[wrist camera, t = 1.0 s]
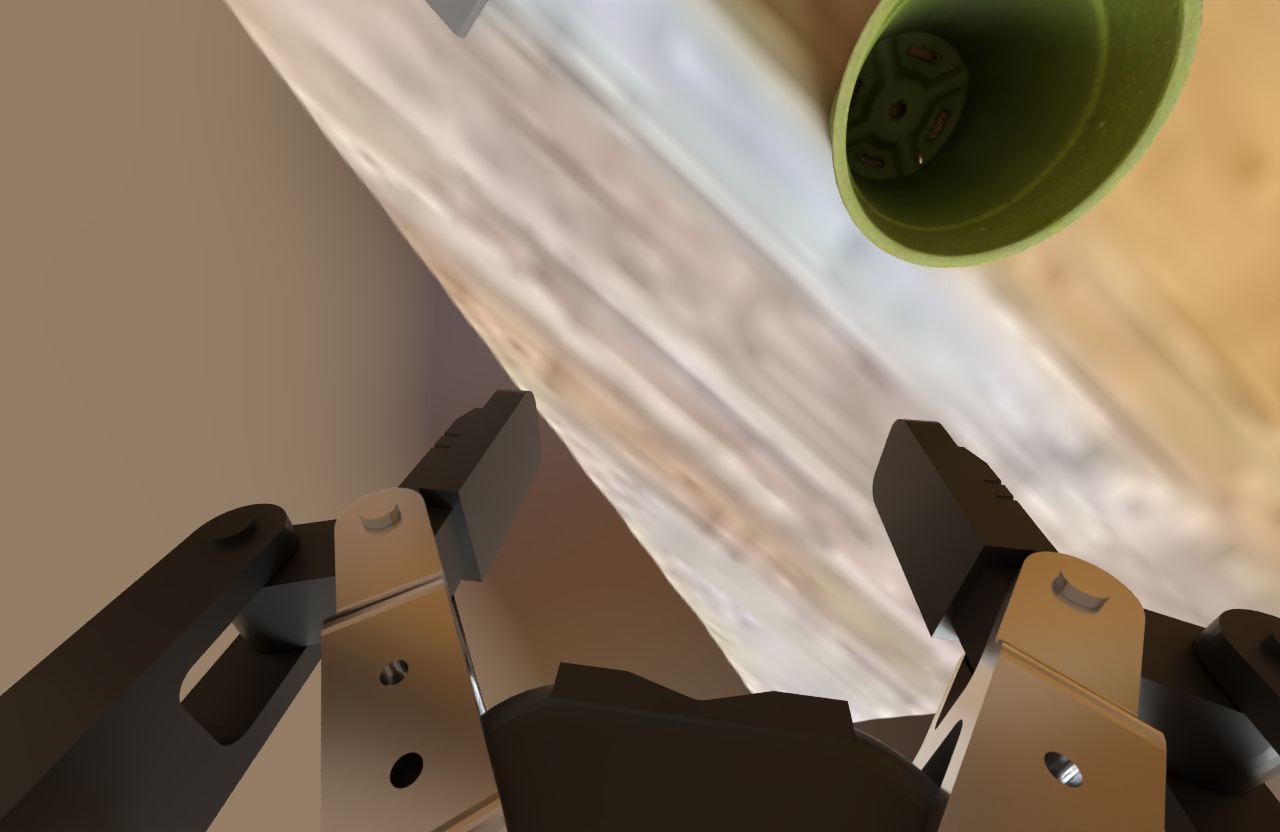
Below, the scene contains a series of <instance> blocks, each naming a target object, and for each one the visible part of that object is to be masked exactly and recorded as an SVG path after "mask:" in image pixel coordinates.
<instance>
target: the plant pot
mask: <svg viewBox="0 0 1280 832" xmlns="http://www.w3.org/2000/svg"><path fill="white" fill-rule="evenodd" d="M1202 10H1203V0H880V2H879V3H878V5H877V6H876V8H875V9H874V11H873V12H872V14H871V16H870V17H869V19H868V21H867V23H866V24H865V26H864V28H863V30H862V32H861V34H860V36H859V38H858V40H857V42H856V44H855V46H854V49H853V51H852V53H851V56H850V58H849V60H848V63H847V66H846V69H845V72H844V75H843V78H842V81H841V82H840V84H839V86H838V89H837V91H836V93H835V96H834V99H833V102H832V106H831V112H830V120H829V134H830V140H831V144H832V161H833V168H834V174H835V179H836V184H837V187H838V190H839V193H840V196H841V199H842V201H843V204H844V206H845V208H846V209H847V211H848V213H849V215H850V217H851V218H852V220H853V222H854V223H855V224H856V226H857V227H858V228H859V229H860V231H861V232H862V233H863V234H864V235H865V236H866V237H867V238H868V239H869V240H870V241H871V242H872V243H874V244H875V245H876V246H877V247H879V248H880V249H882V250H883V251H885V252H887V253H889V254H890V255H892V256H894V257H896V258H898V259H901V260H904V261H907V262H910V263H913V264H917V265H922V266H927V267H939V268H950V267H968V266H975V265H981V264H985V263H989V262H993V261H997V260H1000V259H1003V258H1006V257H1009V256H1012V255H1014V254H1017V253H1020V252H1022V251H1024V250H1026V249H1029V248H1031V247H1033V246H1035V245H1037V244H1039V243H1041V242H1043V241H1044V240H1046V239H1048V238H1050V237H1051V236H1053V235H1055V234H1056V233H1058V232H1060V231H1061V230H1063V229H1065V228H1066V227H1068V226H1069V225H1071V224H1072V223H1073V222H1075V221H1076V220H1078V219H1079V218H1080V217H1082V216H1083V215H1084V214H1086V213H1087V212H1088V211H1089V210H1091V209H1092V208H1093V207H1094V206H1095V205H1096V204H1098V203H1099V202H1100V201H1101V200H1102V199H1103V198H1104V197H1105V196H1107V195H1108V194H1109V193H1110V192H1111V191H1112V190H1113V188H1114V187H1115V186H1116V185H1117V184H1118V183H1119V182H1120V181H1121V180H1122V179H1123V178H1124V177H1125V176H1126V175H1127V174H1128V173H1129V171H1130V170H1131V169H1132V168H1133V167H1134V166H1135V165H1136V163H1137V162H1138V161H1139V160H1140V159H1141V158H1142V156H1143V155H1144V154H1145V152H1146V151H1147V149H1148V148H1149V147H1150V145H1151V144H1152V143H1153V141H1154V140H1155V138H1156V137H1157V135H1158V133H1159V132H1160V130H1161V129H1162V127H1163V126H1164V124H1165V123H1166V121H1167V119H1168V118H1169V116H1170V114H1171V112H1172V110H1173V108H1174V106H1175V104H1176V102H1177V100H1178V98H1179V96H1180V94H1181V92H1182V89H1183V87H1184V85H1185V82H1186V79H1187V76H1188V73H1189V70H1190V67H1191V64H1192V60H1193V58H1194V55H1195V52H1196V48H1197V44H1198V40H1199V36H1200V30H1201V25H1202ZM911 46H919V47H923V48H925V49H930V50H931V51H934V52H936V58H935V59H934V60H933V61H932V62H931V63H929V62H927V61H926V60H924V59H921V58H918V57H915V56H907V53H908V52H909V49H910V47H911ZM870 56H871V57H870ZM871 60H872V64H871ZM952 67H953V68H952ZM950 68H951V69H950ZM856 80H860V81H861V87H860V89H859V91H858V92H857V95H856V96H855V98H854V101H853V103H852V104H851V110H850V113H849V106H850V102H851V97H852V94H853V90H854V87H855V83H856ZM897 103H903V104H904V105H905V111H904V114H903V115H902V116H901V117H899V118H897V119H895V118H893V117H892V114H891V110H892V108H893V106H894V105H896V104H897ZM943 110H946V111H947V112H948V117H947V120H946V122H945V124H944V126H943V128H942V130H941V131H940V133H939V134H938V135H937V137H936V138H935V139H934V140H932V141H931V140H929V134H930V132H931V130H932V129H933V127H934V126H935V124H936V122H937V120H938V117H939V115H940V114H941V112H942V111H943ZM848 114H849V116H848ZM917 148H918V149H919V152H920V154H921V157H922V163H921V164H920V163H919V156H918V152H917ZM862 155H866V156H868V157H871V158H873V159H878V160H883V161H884V163H883V166H884V167H881V166H878V165H876V166H873V165H869V164H866V163H865V162H862V161H861V156H862Z"/></svg>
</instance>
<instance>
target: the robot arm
mask: <svg viewBox="0 0 1280 832" xmlns="http://www.w3.org/2000/svg"><path fill="white" fill-rule="evenodd" d="M540 460H541V441H540V434H539V426H538V418H537V410H536V402H535V398H534V395H533V393H532V392H531V391H521V390H507V389H498V390H497V391H496V392H495V393H494V394H493V396H492V397H491V398H490V399H489V401H488V402H487V403H486V405H485V406H484V407H483V408H482V409H481V408H475V409H473V410H471V411H470V412H468V413H466V414H465V415H463V416H461V417H459V418H458V419H456V420H455V422H454V423H453V424H452V425H451V426H450V427H449V429H448V430H447V431H446V432H445V434H444V436H442V437H441V438H440V439H439V440H438V441H437V443H436V444H435V447H434V448H431V449H430V451H429V452H428V453H427V454H426V455H425V456H424V458H423V459H422V460H421V461H420V462H419V463H418V464H417V466H416V467H415V468H414V469H413V470H412V472H411V473H410V474H409V475H408V476H407V477H406V478H405V480H404V481H403V482H402V483H401V484H400V486H399V487H398V488H389V489H383V490H379V491H376V492H373V493H370V494H368V495H366V496H363V497H361V498H360V499H358V500H356V501H355V502H353V503H352V504H350V505H349V506H348V507H347V508H346V509H345V510H344V511H343V512H342V513H341V514H340V515H339V517H338V519H335V520H328V521H321V522H313V523H307V524H299V525H292V524H291V521H290V520H289V518H288V516H287V514H286V512H285V511H284V510H283V509H282V508H281V507H279V506H277V505H273V504H254V505H248V506H244V507H240V508H237V509H234V510H231V511H228V512H226V513H224V514H222V515H219V516H217V517H215V518H214V519H212V520H210V521H209V522H207V523H205V524H204V525H202V526H201V527H200V528H198V529H197V530H196V531H195V532H193V533H192V534H191V535H190V536H189V537H187V538H186V539H185V540H184V541H183V542H182V543H180V544H179V545H178V546H177V547H176V548H175V549H173V550H172V551H171V552H170V553H168V554H167V555H166V556H165V557H164V558H163V559H161V560H160V561H159V562H158V563H157V564H156V565H154V566H153V567H152V568H151V569H150V570H148V571H147V572H146V573H145V574H144V575H143V576H141V577H140V578H139V579H138V580H137V581H135V582H134V583H133V584H132V585H131V586H130V587H128V588H127V589H126V590H125V591H124V592H122V593H121V594H120V595H119V596H118V597H117V598H115V599H114V600H113V601H112V602H111V603H109V604H108V605H107V606H106V607H105V608H104V609H102V610H101V611H100V612H99V613H98V614H97V615H96V616H94V617H93V618H92V619H91V620H89V621H88V622H87V623H86V624H85V625H84V626H82V627H81V628H80V629H79V630H78V631H77V632H75V633H74V634H73V635H72V636H71V637H69V638H68V639H67V640H66V641H65V642H63V643H62V644H61V645H60V646H59V647H58V648H57V649H55V650H54V651H53V652H52V653H51V654H50V655H48V656H47V657H46V658H45V659H43V660H42V661H41V662H40V663H39V664H38V665H36V667H34V668H33V669H32V670H30V671H29V672H28V673H27V674H26V675H25V676H23V677H22V678H21V679H20V680H19V681H18V682H16V683H15V684H14V685H13V686H12V687H11V688H9V689H8V690H7V691H6V692H4V693H3V694H2V695H1V696H0V832H206V831H207V829H208V828H209V826H210V825H211V823H212V821H213V820H214V819H215V817H216V816H217V814H218V812H219V811H220V809H221V808H222V807H223V805H224V804H225V802H226V800H227V799H228V798H229V796H230V794H231V793H232V792H233V790H234V789H235V787H236V785H237V784H238V782H239V781H240V779H241V778H242V776H243V775H244V773H245V772H246V770H247V769H248V767H249V766H250V764H251V763H252V761H253V760H254V758H255V757H256V755H257V754H258V752H259V751H260V749H261V748H262V746H263V745H264V743H265V742H266V740H267V739H268V737H269V736H270V734H271V733H272V731H273V730H274V728H275V727H276V725H277V724H278V722H279V721H280V719H281V718H282V716H283V715H284V713H285V712H286V710H287V709H288V707H289V706H290V704H291V703H292V701H293V700H294V698H295V697H296V695H297V694H298V692H299V691H300V689H301V688H302V686H303V685H304V683H305V682H306V680H307V679H308V677H309V676H310V674H311V673H312V671H313V670H314V668H315V667H316V665H317V664H318V662H319V661H320V659H321V832H1164V830H1165V832H1280V802H1279V801H1278V800H1277V799H1276V798H1275V796H1274V795H1273V793H1272V792H1271V791H1270V790H1269V788H1268V787H1267V786H1266V784H1265V783H1264V782H1266V781H1268V780H1269V779H1271V778H1273V777H1275V776H1276V775H1278V774H1280V618H1278V617H1275V616H1272V615H1269V614H1265V613H1262V612H1258V611H1253V610H1246V609H1231V610H1228V611H1225V612H1223V613H1222V614H1221V615H1220V616H1219V617H1218V618H1216V619H1215V620H1214V621H1213V622H1212V623H1211V624H1210V625H1209V626H1208V627H1207V628H1203V627H1200V626H1197V625H1194V624H1191V623H1188V622H1184V621H1181V620H1178V619H1175V618H1172V617H1169V616H1165V615H1162V614H1159V613H1156V612H1153V611H1150V610H1146V609H1143V607H1142V605H1141V604H1140V602H1139V601H1138V599H1137V598H1136V597H1135V596H1134V594H1133V593H1132V592H1131V591H1130V590H1129V589H1128V588H1127V587H1126V586H1125V585H1123V584H1122V583H1121V582H1120V581H1118V580H1117V579H1116V578H1114V577H1113V576H1112V575H1110V574H1109V573H1107V572H1105V571H1104V570H1102V569H1100V568H1098V567H1097V566H1095V565H1093V564H1090V563H1088V562H1086V561H1084V560H1081V559H1079V558H1076V557H1073V556H1070V555H1066V554H1062V553H1058V551H1057V550H1056V549H1055V548H1054V546H1053V545H1052V544H1051V543H1050V541H1049V540H1048V539H1047V538H1046V536H1045V535H1044V534H1043V533H1042V531H1041V530H1040V529H1039V528H1038V526H1037V525H1036V524H1035V523H1034V521H1033V520H1032V519H1031V518H1030V516H1029V515H1028V514H1027V513H1026V511H1025V510H1024V509H1023V508H1022V506H1021V505H1020V504H1019V503H1018V502H1017V501H1015V500H1013V495H1012V494H1011V493H1010V492H1009V490H1008V489H1007V488H1006V487H1005V485H1001V480H1000V479H999V478H998V477H997V475H996V474H995V473H994V472H993V470H992V469H991V468H990V467H989V465H988V464H987V463H986V462H984V461H983V460H981V459H980V458H979V457H977V456H976V455H974V454H973V453H971V452H970V451H969V450H967V449H966V448H964V447H958V446H957V445H956V443H955V442H954V441H953V439H952V438H951V437H950V435H949V434H948V433H947V431H946V430H945V429H944V427H943V426H942V425H941V424H940V423H939V422H934V421H921V420H907V419H898V420H896V421H895V422H894V424H893V425H892V427H891V430H890V433H889V436H888V438H887V441H886V444H885V447H884V450H883V452H882V455H881V458H880V461H879V464H878V467H877V469H876V472H875V475H874V479H873V499H874V503H875V506H876V508H877V510H878V513H879V515H880V517H881V520H882V522H883V524H884V527H885V529H886V532H887V534H888V536H889V539H890V541H891V543H892V546H893V548H894V550H895V553H896V555H897V557H898V560H899V562H900V565H901V567H902V569H903V572H904V574H905V576H906V579H907V581H908V583H909V586H910V588H911V590H912V593H913V595H914V598H915V600H916V602H917V605H918V607H919V609H920V612H921V614H922V616H923V619H924V621H925V623H926V626H927V628H928V631H929V633H930V635H931V637H932V638H940V639H949V640H957V641H960V643H961V645H962V647H963V649H964V651H965V652H964V653H963V655H962V656H961V658H960V659H959V661H958V663H957V665H956V667H955V670H954V672H953V674H952V677H951V679H950V682H949V684H948V686H947V689H946V691H945V693H944V696H943V698H942V700H941V703H940V705H939V707H938V710H937V712H936V715H935V718H934V719H933V722H932V724H931V727H930V729H929V731H928V733H927V736H926V738H925V740H924V743H923V745H922V747H921V749H920V750H919V753H918V754H917V756H916V758H915V760H914V762H913V763H911V762H910V761H909V760H908V759H907V758H905V757H904V756H903V755H901V754H900V753H899V752H897V751H895V750H894V749H893V748H891V747H890V746H888V745H886V744H885V743H883V742H882V741H880V740H878V739H876V738H875V737H873V736H871V735H869V734H867V733H865V732H863V731H861V730H859V729H856V728H854V727H853V722H852V718H851V714H850V709H849V705H848V701H843V700H836V699H829V698H821V697H814V696H806V695H799V694H792V693H784V692H777V691H770V692H763V693H756V694H749V695H741V696H734V697H727V698H719V699H712V700H696V699H693V698H690V697H688V696H685V695H683V694H681V693H678V692H676V691H673V690H671V689H669V688H666V687H664V686H661V685H659V684H657V683H654V682H652V681H649V680H647V679H645V678H642V677H640V676H638V675H635V674H633V673H631V672H628V671H622V670H615V669H607V668H600V667H593V666H585V665H577V664H570V663H563V662H561V663H560V666H559V669H558V673H557V676H556V680H555V684H553V685H547V686H542V687H538V688H535V689H531V690H527V691H525V692H522V693H520V694H517V695H515V696H513V697H510V698H509V699H507V700H505V701H503V702H501V703H499V704H497V705H495V706H494V707H492V708H491V709H490V710H488V711H487V709H486V706H485V702H484V699H483V696H482V693H481V689H480V686H479V682H478V679H477V675H476V671H475V668H474V664H473V661H472V657H471V654H470V650H469V646H468V642H467V639H466V635H465V632H464V628H463V624H462V621H461V617H460V614H459V610H458V606H457V602H456V599H455V596H454V593H455V591H456V589H457V587H458V585H459V583H460V582H461V580H469V581H477V582H482V581H483V579H484V577H485V575H486V573H487V571H488V569H489V567H490V565H491V563H492V561H493V559H494V557H495V555H496V553H497V551H498V549H499V547H500V545H501V543H502V541H503V539H504V537H505V535H506V533H507V531H508V529H509V527H510V525H511V523H512V521H513V519H514V517H515V515H516V513H517V511H518V509H519V507H520V505H521V503H522V501H523V499H524V497H525V495H526V493H527V491H528V489H529V487H530V485H531V483H532V481H533V479H534V477H535V475H536V473H537V471H538V469H539V464H540ZM231 622H232V623H233V624H234V626H235V627H236V629H237V630H238V631H239V633H240V634H239V635H238V636H237V638H236V639H235V640H234V641H233V642H232V644H231V645H230V646H229V647H228V648H227V649H226V651H225V652H224V653H223V654H222V655H221V656H220V658H219V659H218V660H217V661H216V662H215V663H214V665H213V666H212V667H211V668H210V669H209V671H208V672H207V673H206V674H205V675H204V676H203V677H202V679H201V680H200V681H199V682H198V683H197V685H196V686H195V687H194V688H193V689H192V690H191V691H190V693H189V694H188V695H187V696H186V697H185V698H184V700H183V701H182V702H181V703H180V699H179V694H180V688H181V685H182V682H183V680H184V678H185V676H186V674H187V673H188V671H189V670H190V669H191V667H192V666H193V665H194V664H195V663H196V662H197V660H198V659H199V658H200V657H201V656H202V655H203V654H204V653H205V651H206V650H207V649H208V648H209V647H210V646H211V645H212V644H213V642H214V641H215V640H216V639H217V638H218V637H219V636H220V635H221V634H222V632H223V631H224V630H225V629H226V628H227V627H228V626H229V624H230V623H231Z"/></svg>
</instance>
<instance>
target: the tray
mask: <svg viewBox="0 0 1280 832" xmlns="http://www.w3.org/2000/svg"><path fill="white" fill-rule="evenodd" d="M425 1H426V2H427V3H428V4H429V5H430V6H431V8H432V9H433V10H434V11H435V12H436V13H437V14H438V15H439V17H440V18H441V19H442V20H443V21H444V22H445V23H446V24H447V25H448V27H449V28H450V29H451V30H452V31H453V32H454V33H455V34H456V36H459V37H462V38H465V36H466V35H467V33H468V31H469V30H470V28H471V26H472V25H473V23H474V22H475V20H476V18H477V17H478V15H479V13H480V12H481V10H482V9H483V7H484V5H485V4H486V2H487V0H425Z"/></svg>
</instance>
